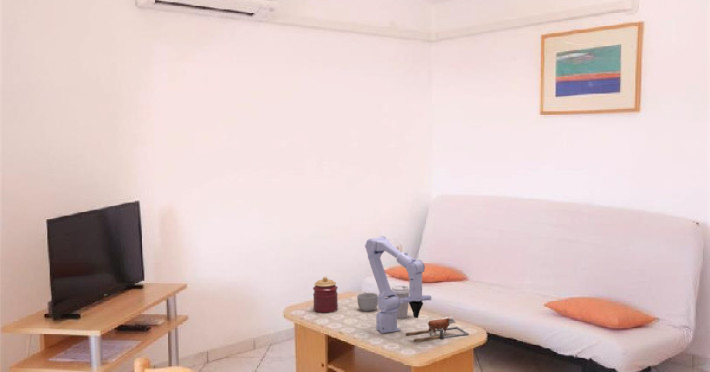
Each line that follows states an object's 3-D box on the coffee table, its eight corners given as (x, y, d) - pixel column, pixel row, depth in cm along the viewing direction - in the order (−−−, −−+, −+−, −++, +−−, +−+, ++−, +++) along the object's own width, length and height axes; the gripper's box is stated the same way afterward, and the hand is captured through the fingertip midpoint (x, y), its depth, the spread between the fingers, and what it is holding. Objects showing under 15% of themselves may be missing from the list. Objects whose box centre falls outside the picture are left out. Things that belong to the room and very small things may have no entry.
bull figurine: (456, 334, 283) (456, 317, 282) (429, 337, 279) (429, 319, 278) (452, 331, 287) (452, 314, 286) (425, 334, 283) (425, 317, 282)
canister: (333, 314, 317) (332, 280, 316) (309, 312, 321) (309, 279, 319) (341, 307, 330) (340, 274, 328) (318, 305, 333) (317, 273, 332)
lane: (443, 338, 277) (443, 337, 277) (432, 331, 288) (432, 329, 287) (468, 334, 281) (468, 333, 281) (457, 327, 292) (457, 326, 292)
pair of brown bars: (415, 342, 272) (415, 333, 272) (404, 334, 284) (404, 325, 283) (443, 338, 277) (443, 330, 276) (431, 330, 288) (431, 322, 288)
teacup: (378, 312, 318) (377, 297, 318) (357, 312, 319) (356, 297, 318) (377, 305, 332) (377, 290, 332) (357, 305, 332) (357, 290, 332)
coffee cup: (407, 320, 305) (407, 290, 304) (389, 318, 308) (388, 289, 307) (412, 314, 314) (411, 285, 313) (394, 313, 317) (393, 284, 316)
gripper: (404, 291, 271) (404, 321, 272) (434, 288, 275) (434, 317, 277) (398, 287, 277) (398, 317, 279) (427, 284, 282) (427, 313, 283)
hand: (415, 317), depth 278 cm, fingers closed
